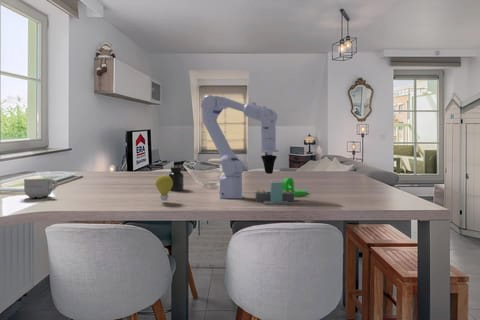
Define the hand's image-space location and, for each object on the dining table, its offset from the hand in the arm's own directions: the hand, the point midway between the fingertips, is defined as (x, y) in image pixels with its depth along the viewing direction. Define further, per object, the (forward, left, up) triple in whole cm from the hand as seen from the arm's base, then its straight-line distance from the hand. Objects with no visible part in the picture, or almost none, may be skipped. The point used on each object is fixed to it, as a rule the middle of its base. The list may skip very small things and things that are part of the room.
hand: (268, 173), depth 157 cm
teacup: (-95, +8, -11) cm, 96 cm away
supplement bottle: (-41, +26, -11) cm, 50 cm away
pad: (+2, -12, -10) cm, 16 cm away
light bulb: (-41, -3, -11) cm, 43 cm away
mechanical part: (+13, +14, -11) cm, 22 cm away
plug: (+2, -12, -10) cm, 16 cm away
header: (+2, -4, -10) cm, 11 cm away
